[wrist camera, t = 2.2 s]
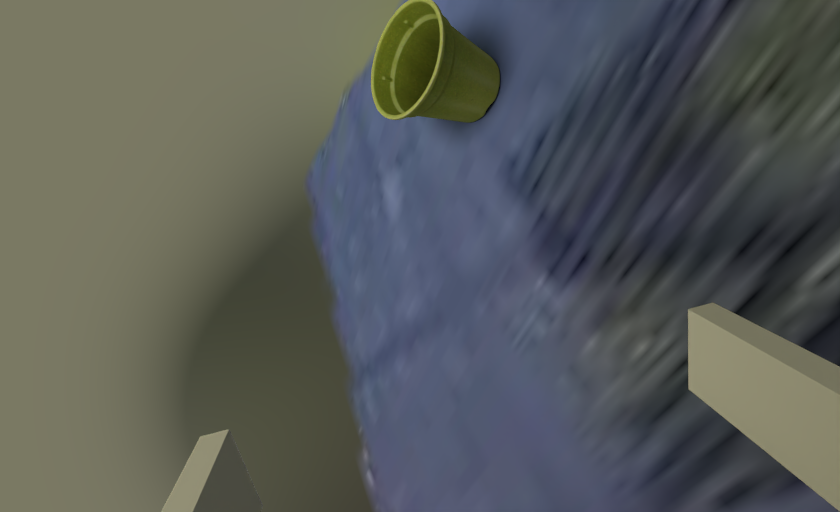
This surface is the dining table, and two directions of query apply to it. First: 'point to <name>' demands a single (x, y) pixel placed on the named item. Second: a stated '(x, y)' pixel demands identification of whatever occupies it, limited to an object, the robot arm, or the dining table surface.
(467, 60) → the plant pot
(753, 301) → the dining table surface
